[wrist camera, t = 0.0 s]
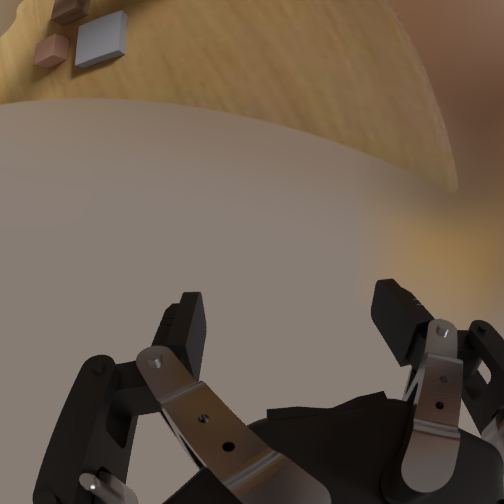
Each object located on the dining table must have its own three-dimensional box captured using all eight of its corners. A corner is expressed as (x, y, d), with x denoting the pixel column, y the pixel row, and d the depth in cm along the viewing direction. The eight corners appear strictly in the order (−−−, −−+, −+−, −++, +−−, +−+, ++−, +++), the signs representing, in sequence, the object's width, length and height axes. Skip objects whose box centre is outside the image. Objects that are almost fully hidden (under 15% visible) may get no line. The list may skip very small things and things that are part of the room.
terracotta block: (50, 48, 27) (36, 43, 22) (69, 38, 27) (55, 32, 22) (48, 68, 28) (34, 64, 24) (67, 59, 28) (52, 54, 24)
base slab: (87, 30, 27) (79, 26, 24) (128, 16, 27) (121, 9, 24) (84, 68, 30) (74, 65, 27) (126, 55, 30) (118, 50, 27)
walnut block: (67, 5, 23) (55, -2, 19) (91, -6, 23) (80, -15, 19) (63, 26, 25) (50, 20, 21) (87, 15, 25) (75, 7, 21)
